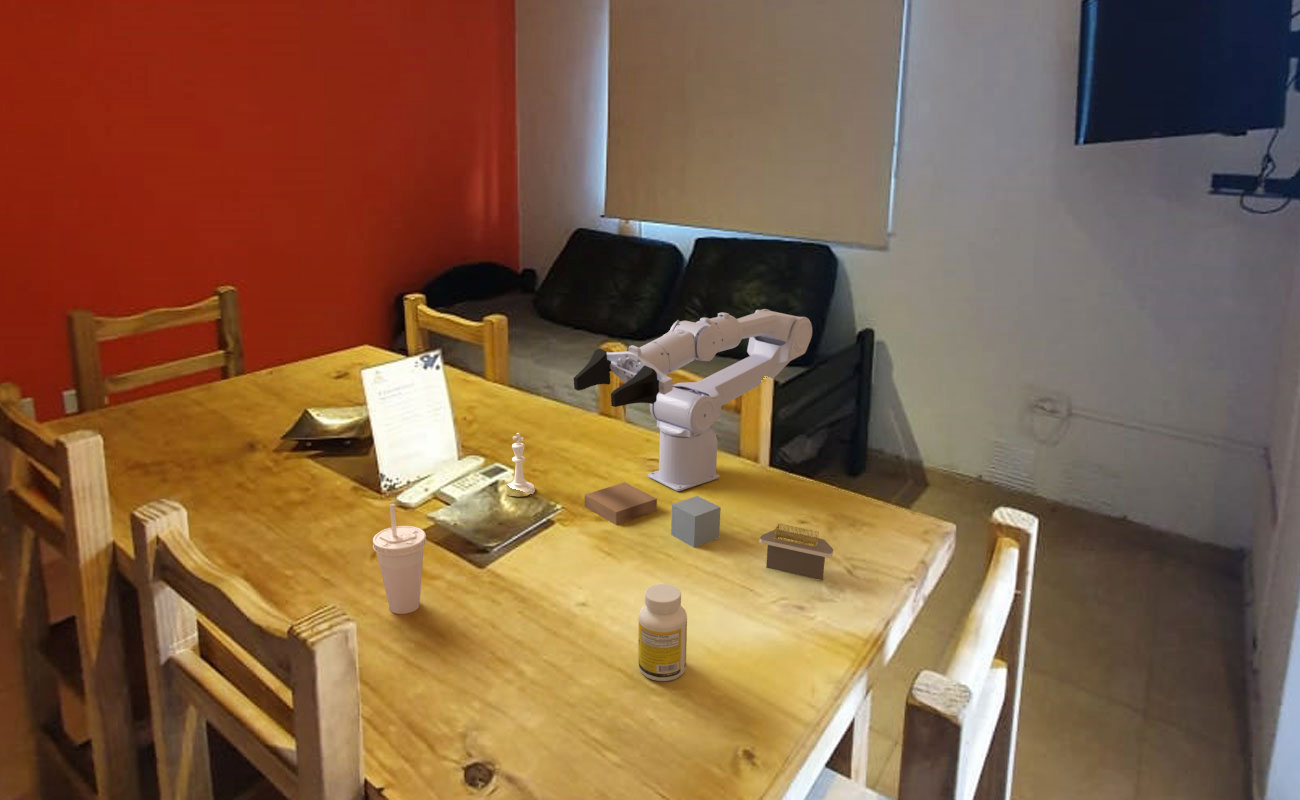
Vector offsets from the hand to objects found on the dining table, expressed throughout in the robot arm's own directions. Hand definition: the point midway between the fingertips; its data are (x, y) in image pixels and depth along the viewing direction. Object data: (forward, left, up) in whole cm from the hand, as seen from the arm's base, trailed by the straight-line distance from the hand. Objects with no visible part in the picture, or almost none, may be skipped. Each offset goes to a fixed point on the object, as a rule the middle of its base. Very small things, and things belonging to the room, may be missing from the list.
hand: (593, 392), depth 136 cm
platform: (-12, +30, -21) cm, 39 cm away
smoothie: (+34, +6, -20) cm, 40 cm away
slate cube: (-8, +14, -20) cm, 26 cm away
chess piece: (+4, -15, -20) cm, 25 cm away
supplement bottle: (+17, +36, -20) cm, 45 cm away
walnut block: (-5, 0, -21) cm, 21 cm away
